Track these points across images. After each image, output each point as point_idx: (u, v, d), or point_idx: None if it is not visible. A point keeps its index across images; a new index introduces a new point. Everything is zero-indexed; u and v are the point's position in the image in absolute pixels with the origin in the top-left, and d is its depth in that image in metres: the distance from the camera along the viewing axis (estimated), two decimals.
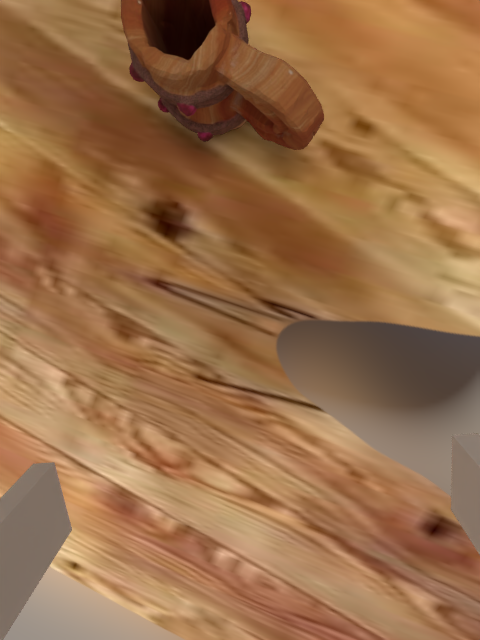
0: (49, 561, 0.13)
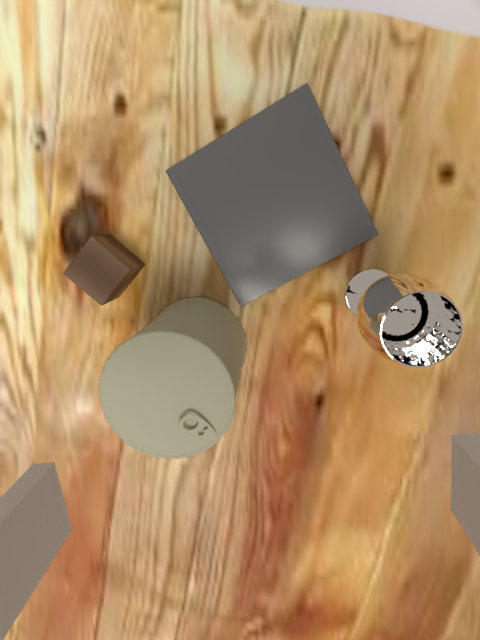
0: (49, 560, 0.13)
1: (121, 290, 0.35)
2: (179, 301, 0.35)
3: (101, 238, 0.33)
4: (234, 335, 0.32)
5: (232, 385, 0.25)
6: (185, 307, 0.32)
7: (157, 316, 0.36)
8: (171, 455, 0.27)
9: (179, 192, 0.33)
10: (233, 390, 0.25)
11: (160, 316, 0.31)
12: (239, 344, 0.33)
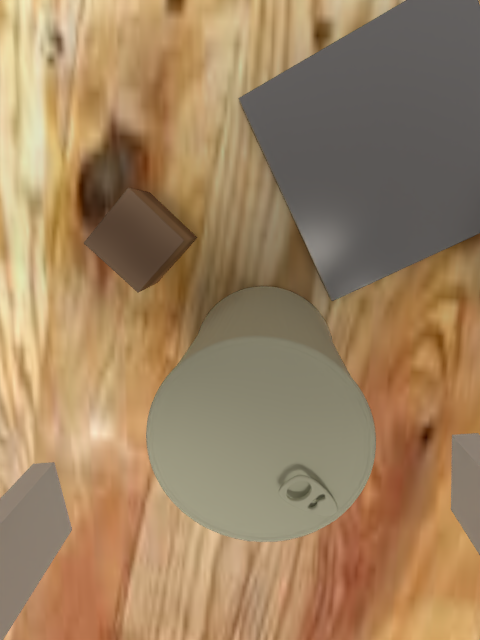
0: (49, 561, 0.13)
1: (163, 272, 0.25)
2: (244, 291, 0.25)
3: (141, 194, 0.22)
4: None
5: (374, 431, 0.15)
6: (262, 299, 0.22)
7: (210, 311, 0.26)
8: (258, 536, 0.17)
9: (256, 131, 0.23)
10: (374, 439, 0.15)
11: (229, 311, 0.21)
12: None
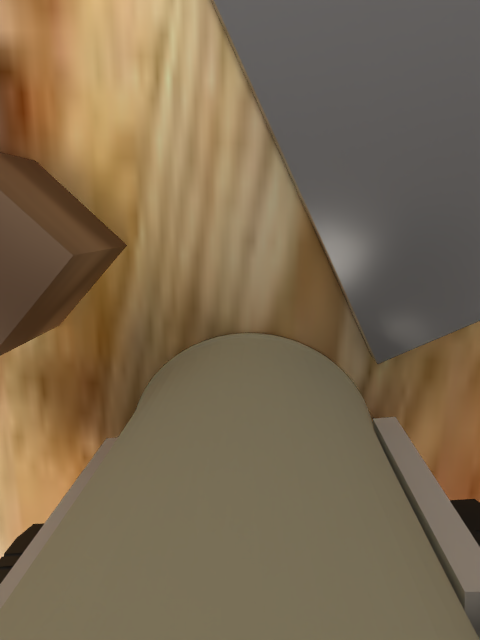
0: None
1: (60, 311, 0.13)
2: (213, 343, 0.14)
3: None
4: None
5: None
6: (244, 377, 0.10)
7: (154, 376, 0.14)
8: None
9: (232, 29, 0.11)
10: None
11: (167, 414, 0.09)
12: None
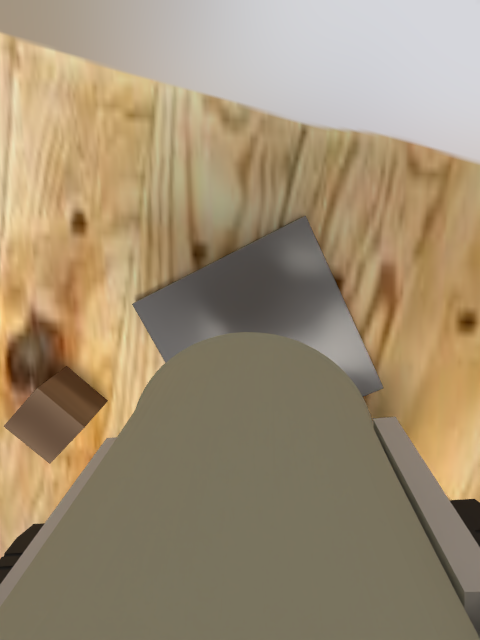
0: None
1: None
2: (213, 342, 0.14)
3: (52, 383, 0.27)
4: None
5: None
6: (243, 375, 0.10)
7: (154, 376, 0.14)
8: None
9: (148, 328, 0.27)
10: None
11: (167, 413, 0.09)
12: None
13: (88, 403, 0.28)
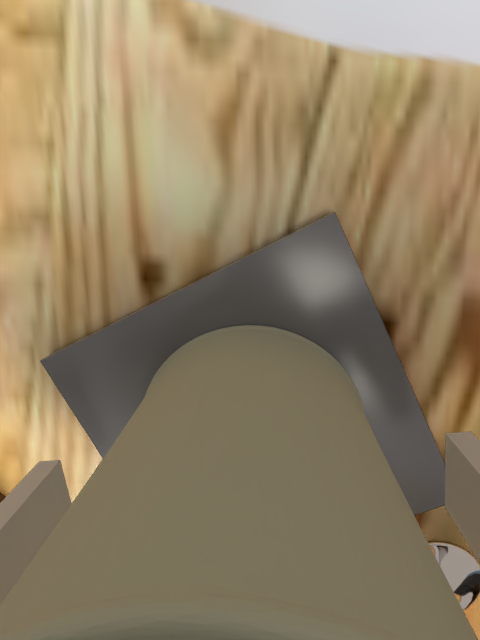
0: None
1: None
2: (216, 334, 0.15)
3: None
4: None
5: None
6: (245, 362, 0.12)
7: (162, 365, 0.15)
8: None
9: (69, 400, 0.17)
10: None
11: (177, 394, 0.10)
12: None
13: None
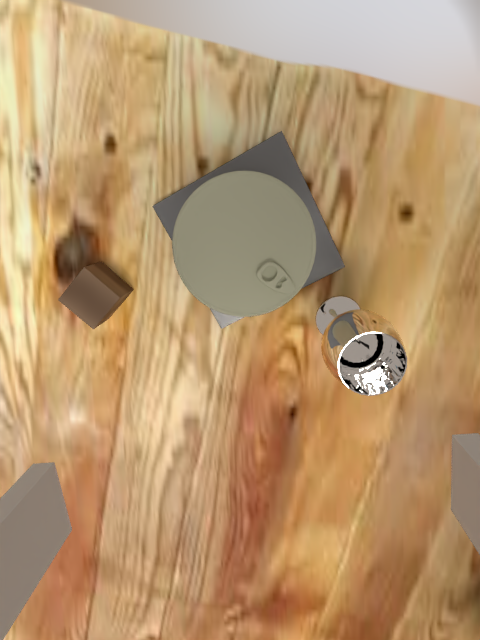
0: (49, 561, 0.13)
1: (111, 313, 0.38)
2: None
3: (93, 268, 0.36)
4: None
5: (314, 232, 0.24)
6: None
7: None
8: (245, 312, 0.26)
9: (165, 225, 0.36)
10: (315, 237, 0.24)
11: None
12: None
13: (120, 286, 0.37)
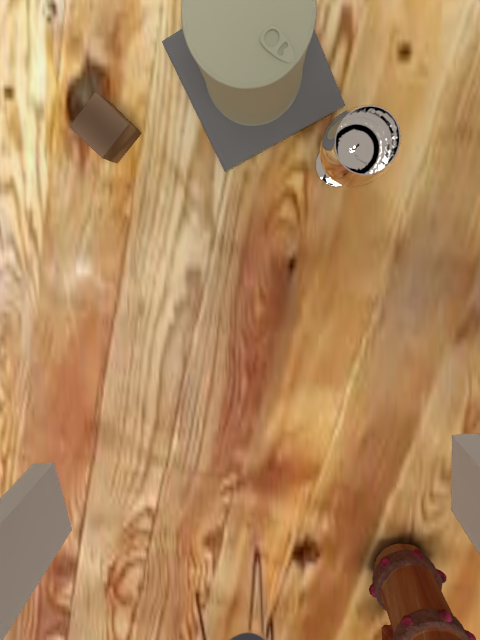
0: (49, 561, 0.13)
1: (119, 153, 0.40)
2: None
3: (104, 99, 0.37)
4: None
5: None
6: None
7: None
8: (248, 83, 0.27)
9: (173, 62, 0.38)
10: (315, 2, 0.26)
11: None
12: None
13: (129, 122, 0.38)
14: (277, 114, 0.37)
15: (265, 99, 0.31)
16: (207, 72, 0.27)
